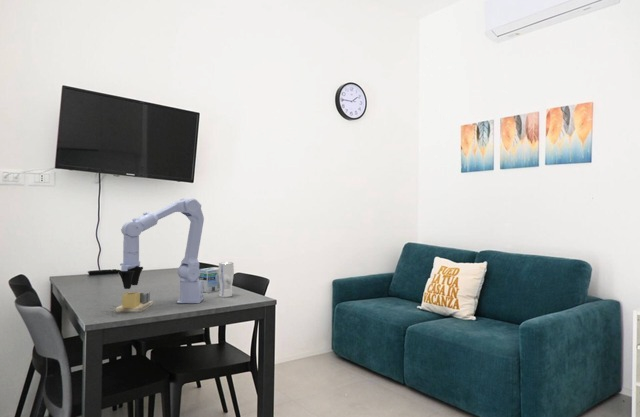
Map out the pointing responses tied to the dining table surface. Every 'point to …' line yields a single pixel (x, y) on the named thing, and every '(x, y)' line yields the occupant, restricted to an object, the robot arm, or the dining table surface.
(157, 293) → the dining table surface
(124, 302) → the block
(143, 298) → the housing
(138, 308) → the base plate
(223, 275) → the beer glass
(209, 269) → the light bulb box
